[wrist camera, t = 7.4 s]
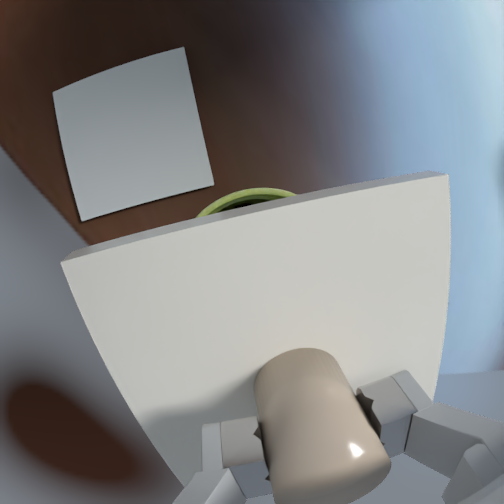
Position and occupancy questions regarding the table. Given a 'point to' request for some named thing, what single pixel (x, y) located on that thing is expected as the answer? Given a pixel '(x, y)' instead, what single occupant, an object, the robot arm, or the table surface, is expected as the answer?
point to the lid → (276, 324)
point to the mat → (132, 134)
